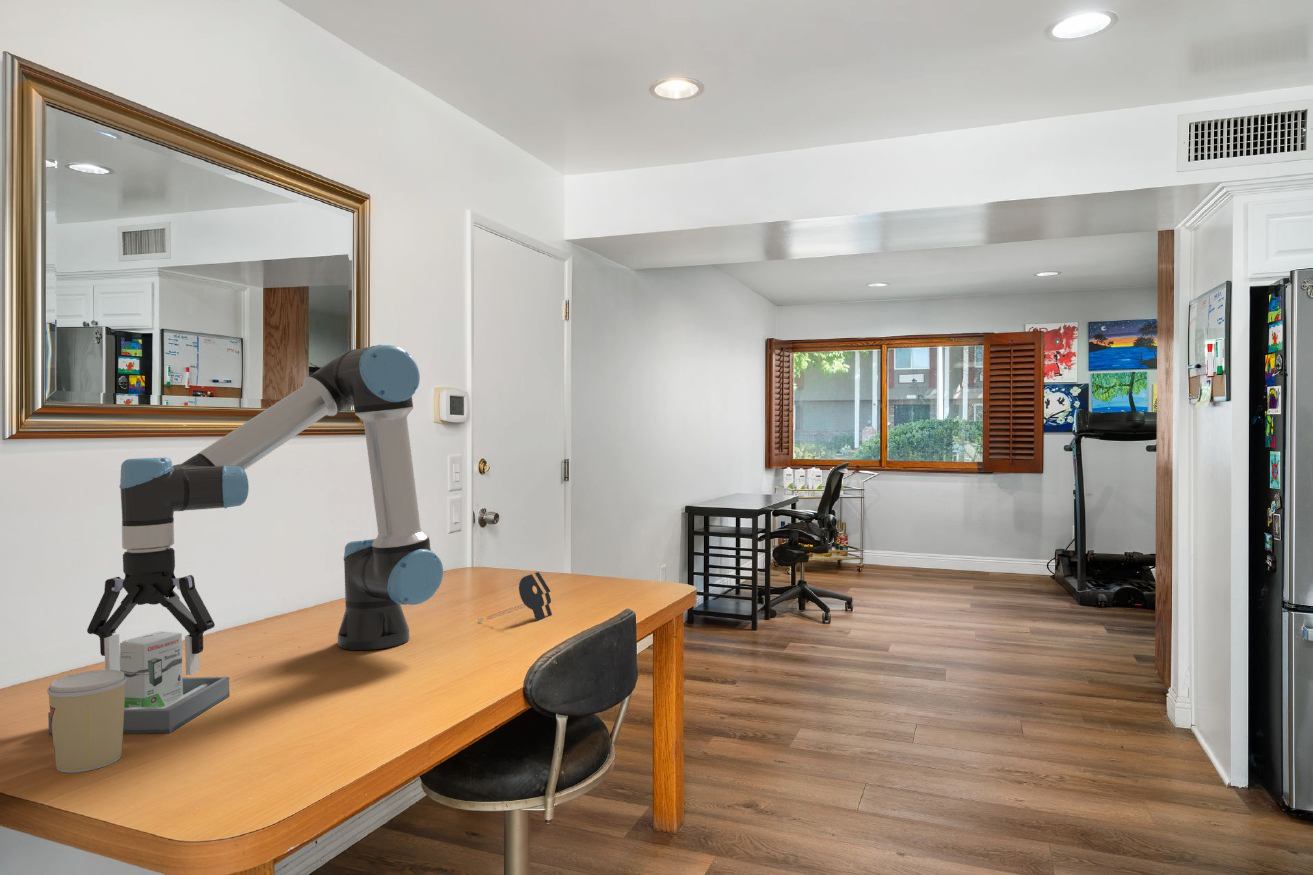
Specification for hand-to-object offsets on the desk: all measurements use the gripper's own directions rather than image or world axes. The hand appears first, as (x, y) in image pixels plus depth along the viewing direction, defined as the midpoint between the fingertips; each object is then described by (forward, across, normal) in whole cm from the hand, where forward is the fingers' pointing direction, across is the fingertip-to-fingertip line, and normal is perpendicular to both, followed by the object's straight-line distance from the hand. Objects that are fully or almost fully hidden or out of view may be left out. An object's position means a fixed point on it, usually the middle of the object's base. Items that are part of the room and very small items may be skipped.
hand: (152, 673), depth 141 cm
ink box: (+6, 0, 0) cm, 6 cm away
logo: (+7, -53, -64) cm, 84 cm away
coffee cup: (+6, -4, +22) cm, 23 cm away
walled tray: (+6, 0, +2) cm, 7 cm away
